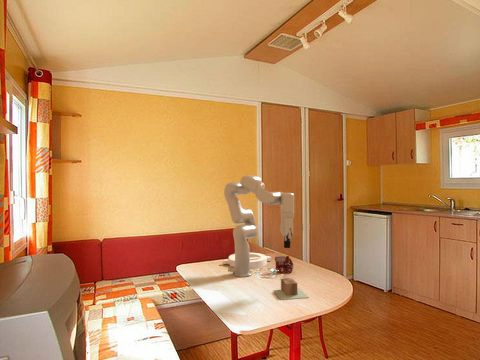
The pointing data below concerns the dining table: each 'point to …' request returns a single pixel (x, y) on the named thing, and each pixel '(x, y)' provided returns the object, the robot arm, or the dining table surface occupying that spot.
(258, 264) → the white circle with bar
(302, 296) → the sage mat
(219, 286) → the dining table surface
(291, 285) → the walnut block
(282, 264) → the toy fire truck
